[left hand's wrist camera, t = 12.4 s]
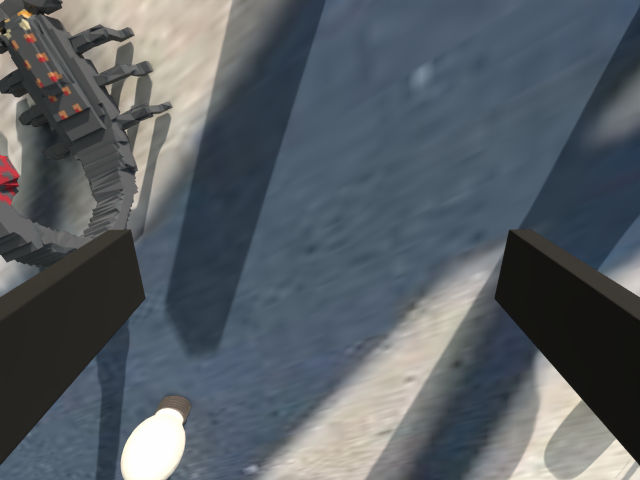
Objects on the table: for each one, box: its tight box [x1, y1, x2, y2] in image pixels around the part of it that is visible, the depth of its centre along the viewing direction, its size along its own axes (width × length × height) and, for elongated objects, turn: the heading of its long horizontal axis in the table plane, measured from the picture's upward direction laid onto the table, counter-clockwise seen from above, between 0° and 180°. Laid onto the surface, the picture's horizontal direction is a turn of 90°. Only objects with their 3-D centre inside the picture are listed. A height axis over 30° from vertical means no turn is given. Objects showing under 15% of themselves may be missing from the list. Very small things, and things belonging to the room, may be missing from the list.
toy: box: [0, 0, 172, 267], centre depth 26 cm, size 13×27×18 cm, turn 22°
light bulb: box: [121, 396, 191, 480], centre depth 44 cm, size 7×7×11 cm
